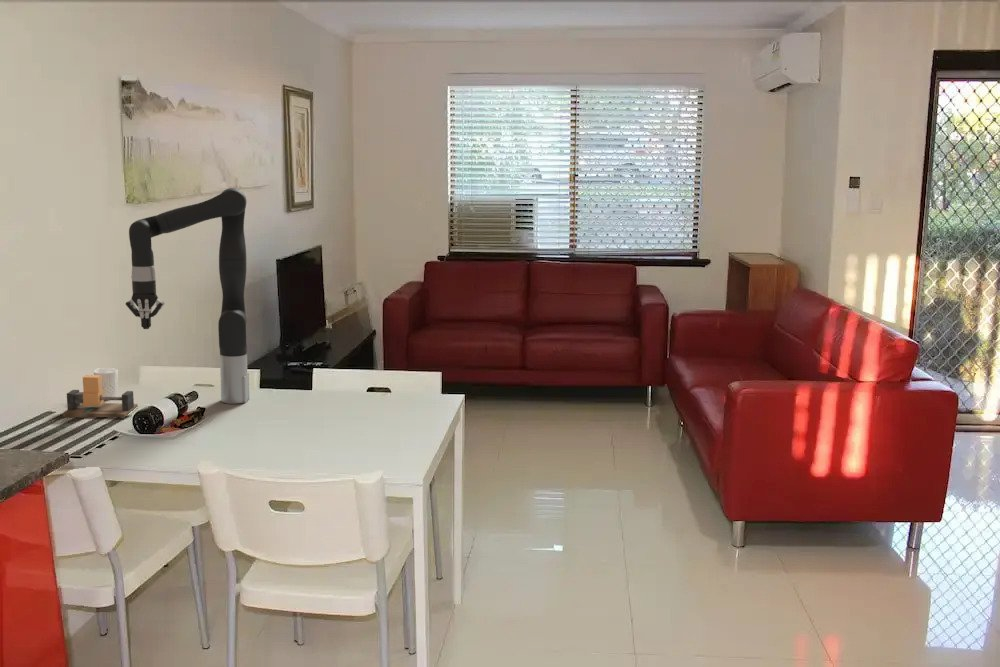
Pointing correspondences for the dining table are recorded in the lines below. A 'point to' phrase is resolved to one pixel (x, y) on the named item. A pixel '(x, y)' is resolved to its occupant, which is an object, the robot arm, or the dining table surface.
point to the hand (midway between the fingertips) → (146, 328)
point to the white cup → (108, 381)
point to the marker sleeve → (92, 390)
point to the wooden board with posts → (103, 410)
